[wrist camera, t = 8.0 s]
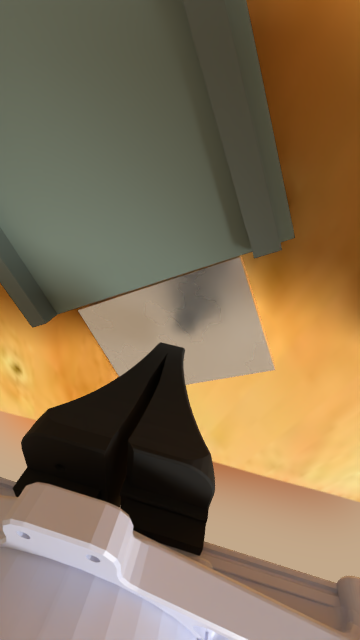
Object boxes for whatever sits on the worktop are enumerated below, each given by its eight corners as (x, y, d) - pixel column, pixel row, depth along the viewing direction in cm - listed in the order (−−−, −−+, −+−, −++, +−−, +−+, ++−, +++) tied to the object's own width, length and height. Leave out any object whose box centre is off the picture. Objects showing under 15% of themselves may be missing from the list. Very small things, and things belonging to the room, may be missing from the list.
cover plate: (272, 353, 17) (274, 369, 15) (137, 378, 20) (130, 393, 19) (240, 248, 14) (239, 257, 13) (90, 299, 18) (77, 310, 16)
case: (286, 225, 12) (299, 244, 9) (62, 301, 17) (24, 330, 14) (171, -312, 7) (115, -677, 4) (-112, 28, 12) (-231, -17, 9)
